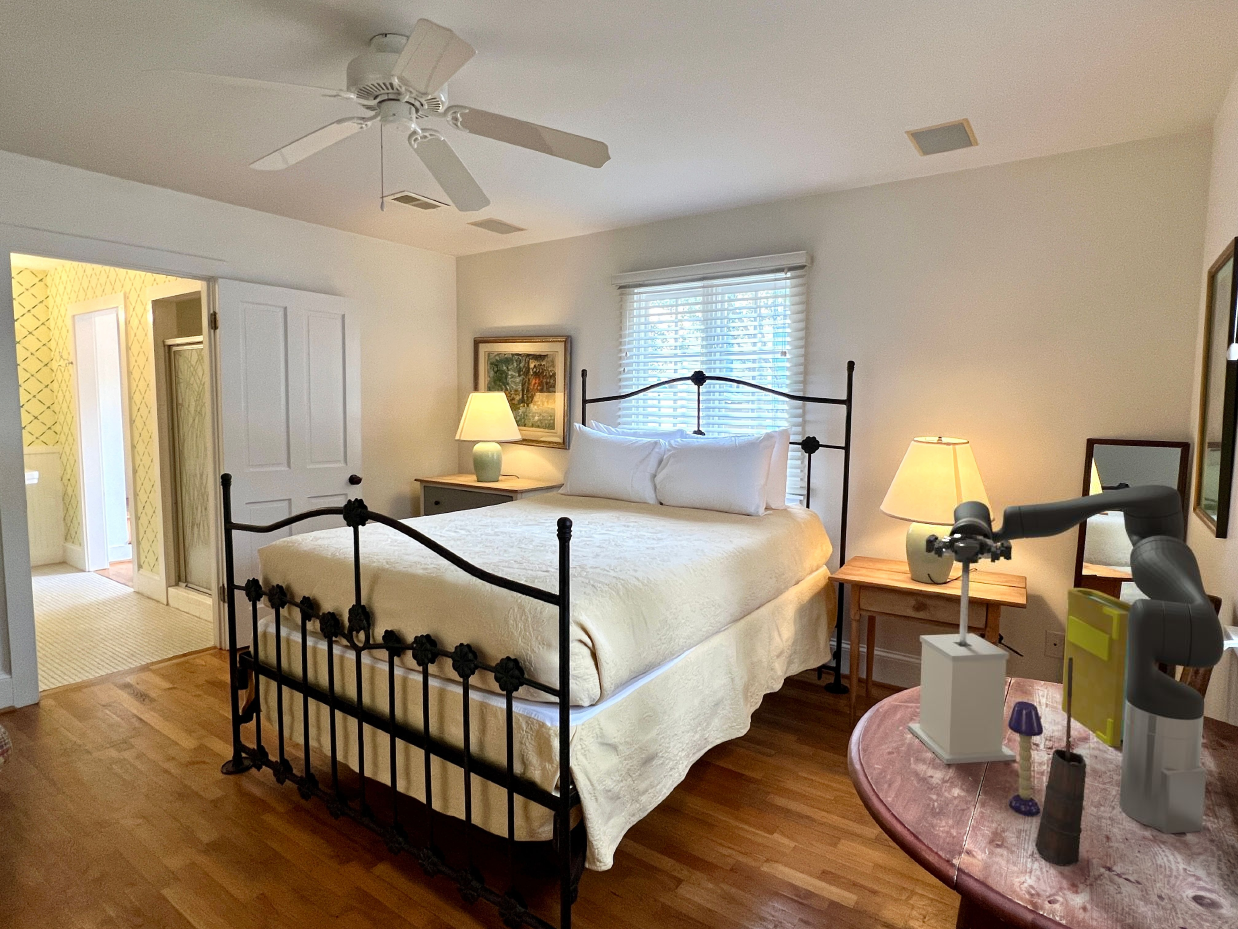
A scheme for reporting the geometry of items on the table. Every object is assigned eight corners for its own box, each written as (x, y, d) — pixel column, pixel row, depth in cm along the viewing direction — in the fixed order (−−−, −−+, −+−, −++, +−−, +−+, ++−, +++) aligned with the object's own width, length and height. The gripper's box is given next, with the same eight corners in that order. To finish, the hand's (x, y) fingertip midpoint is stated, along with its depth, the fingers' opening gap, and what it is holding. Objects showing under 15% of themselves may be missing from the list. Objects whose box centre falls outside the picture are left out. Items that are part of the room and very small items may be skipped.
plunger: (995, 691, 123) (1002, 548, 120) (953, 693, 122) (958, 550, 120) (968, 673, 131) (974, 539, 128) (928, 675, 130) (933, 540, 127)
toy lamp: (1005, 811, 106) (1009, 707, 105) (1004, 796, 110) (1008, 696, 109) (1041, 819, 104) (1046, 714, 103) (1039, 804, 108) (1044, 701, 107)
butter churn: (1103, 893, 89) (1115, 683, 86) (1018, 865, 94) (1027, 667, 91) (1102, 854, 96) (1114, 660, 94) (1024, 830, 102) (1032, 646, 99)
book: (1146, 746, 126) (1155, 613, 123) (1109, 746, 126) (1117, 613, 124) (1086, 705, 143) (1092, 588, 140) (1053, 705, 143) (1059, 588, 140)
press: (1015, 759, 121) (1020, 655, 120) (945, 764, 120) (949, 659, 118) (971, 725, 134) (974, 631, 133) (907, 729, 133) (910, 633, 131)
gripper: (931, 517, 140) (923, 530, 126) (1012, 522, 133) (1012, 537, 119) (930, 553, 141) (922, 570, 127) (1010, 560, 134) (1011, 579, 120)
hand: (966, 554), depth 123 cm, fingers open, 8 cm apart
